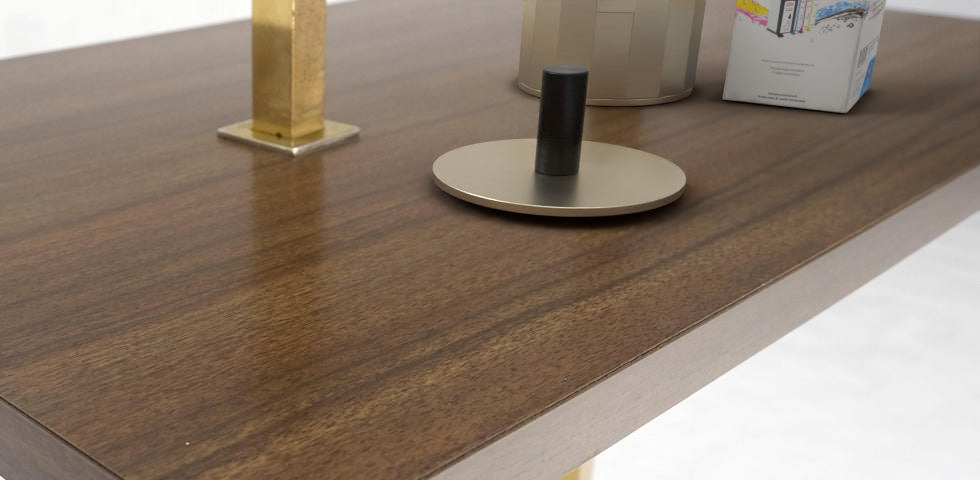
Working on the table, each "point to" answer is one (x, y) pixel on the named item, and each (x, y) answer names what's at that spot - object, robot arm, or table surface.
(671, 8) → the pot
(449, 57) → the table surface
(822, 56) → the ink box
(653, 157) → the lid
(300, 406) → the table surface
